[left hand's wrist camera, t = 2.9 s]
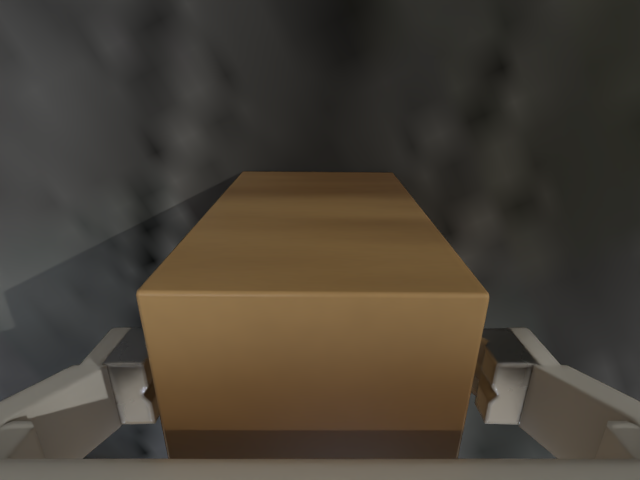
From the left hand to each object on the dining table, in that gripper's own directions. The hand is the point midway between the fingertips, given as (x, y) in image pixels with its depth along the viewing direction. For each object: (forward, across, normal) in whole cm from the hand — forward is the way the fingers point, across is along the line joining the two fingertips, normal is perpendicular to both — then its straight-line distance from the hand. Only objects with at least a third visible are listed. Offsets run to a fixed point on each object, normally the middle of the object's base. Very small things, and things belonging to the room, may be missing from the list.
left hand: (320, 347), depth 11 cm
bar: (+5, 0, +8) cm, 9 cm away
